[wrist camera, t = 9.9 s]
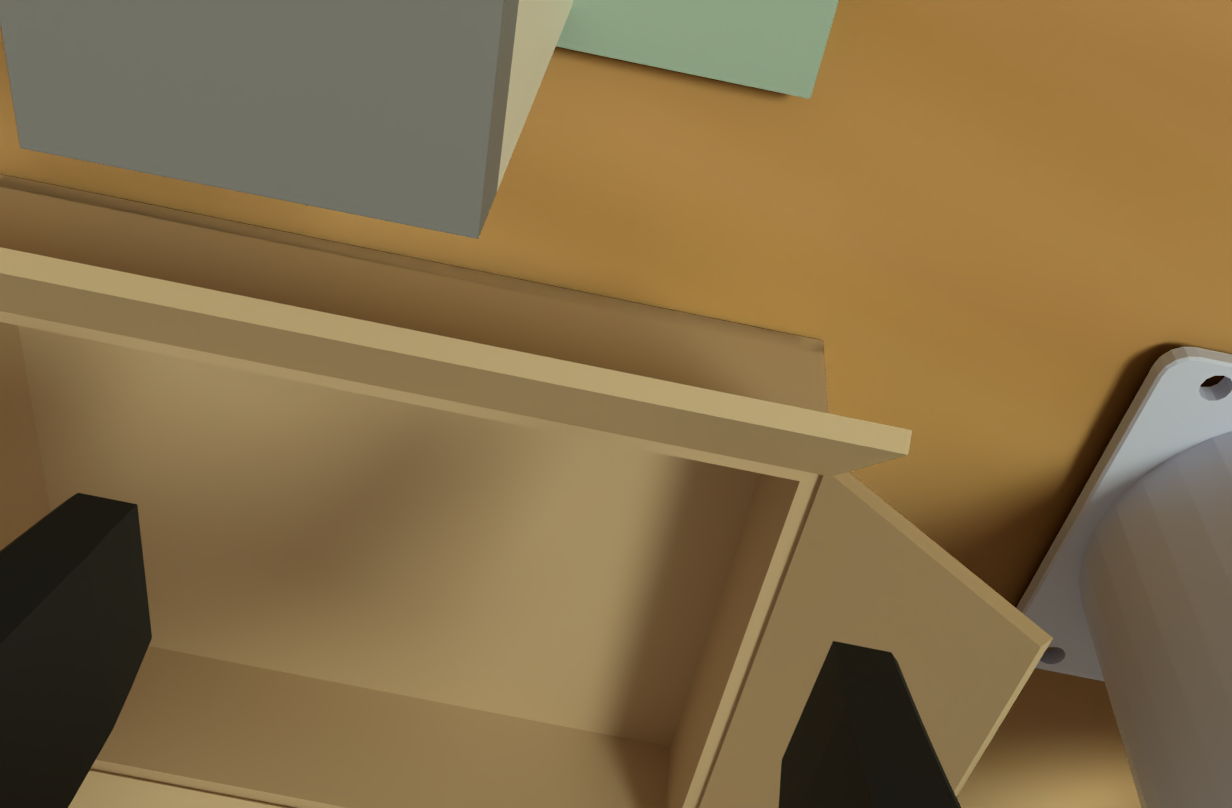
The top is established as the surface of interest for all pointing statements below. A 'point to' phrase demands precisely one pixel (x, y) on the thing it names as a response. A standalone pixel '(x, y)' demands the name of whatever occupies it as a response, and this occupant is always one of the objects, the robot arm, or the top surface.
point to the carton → (459, 525)
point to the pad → (710, 38)
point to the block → (290, 95)
